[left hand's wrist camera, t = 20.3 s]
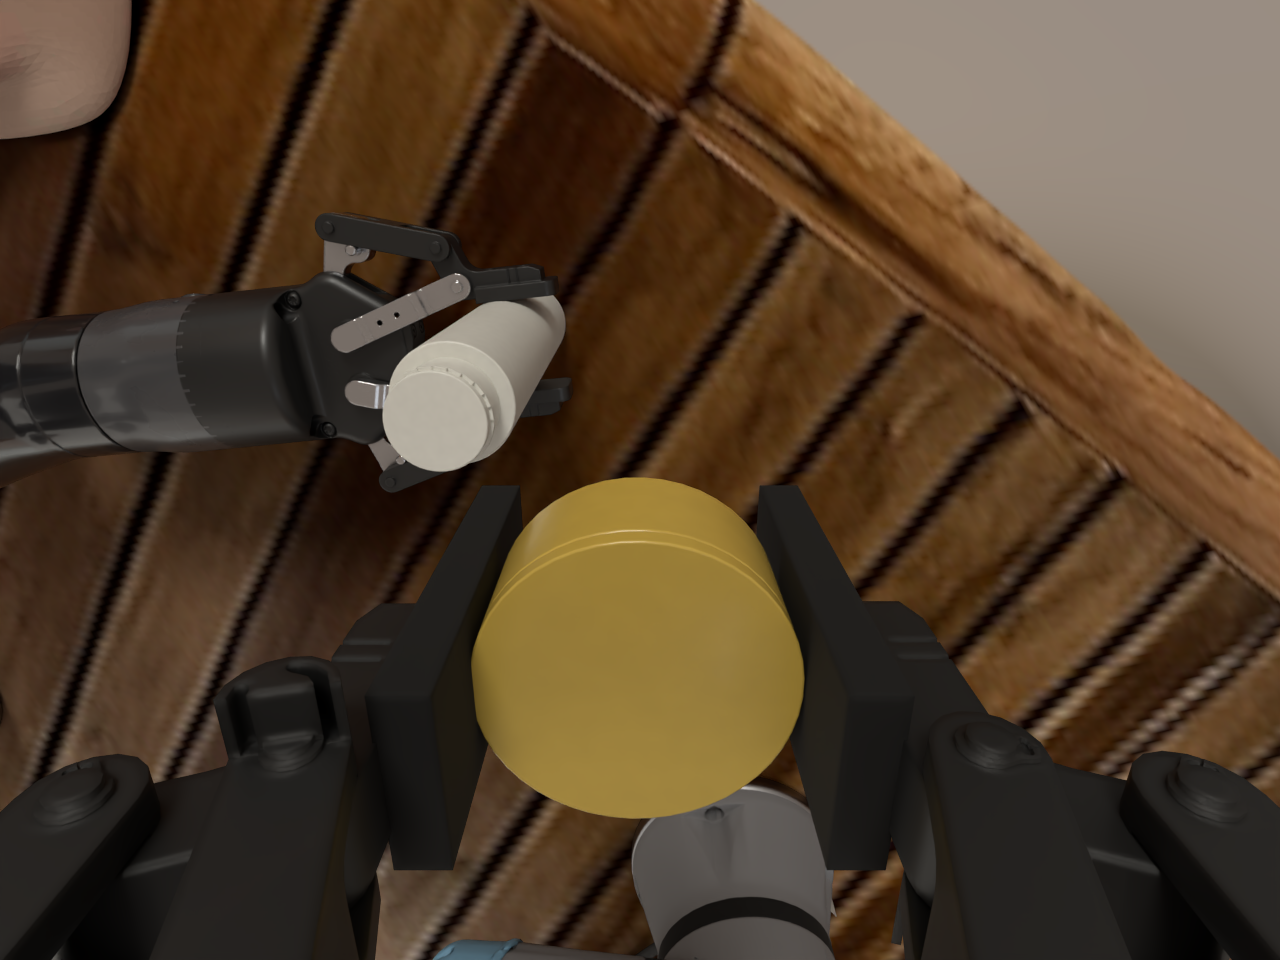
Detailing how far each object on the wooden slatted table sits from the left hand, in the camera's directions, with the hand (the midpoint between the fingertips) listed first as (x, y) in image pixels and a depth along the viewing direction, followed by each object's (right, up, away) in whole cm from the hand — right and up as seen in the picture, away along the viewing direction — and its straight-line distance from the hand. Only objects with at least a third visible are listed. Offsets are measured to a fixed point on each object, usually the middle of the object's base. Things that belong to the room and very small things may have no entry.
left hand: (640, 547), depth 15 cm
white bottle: (-6, +10, +26) cm, 29 cm away
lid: (0, -2, -4) cm, 4 cm away
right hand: (-4, +8, +20) cm, 22 cm away
